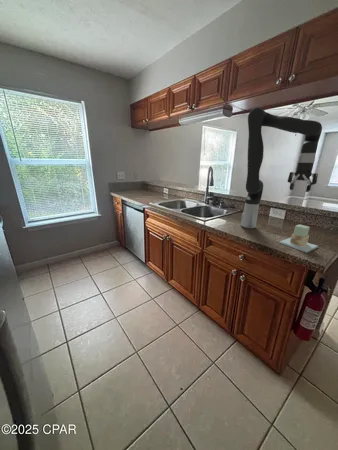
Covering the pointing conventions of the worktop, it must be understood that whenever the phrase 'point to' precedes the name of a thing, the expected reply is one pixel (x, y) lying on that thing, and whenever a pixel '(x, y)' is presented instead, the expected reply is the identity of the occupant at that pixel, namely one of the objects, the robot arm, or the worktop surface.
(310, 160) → the robot arm
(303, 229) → the sage block
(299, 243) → the maple block
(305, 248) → the board
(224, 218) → the worktop surface
